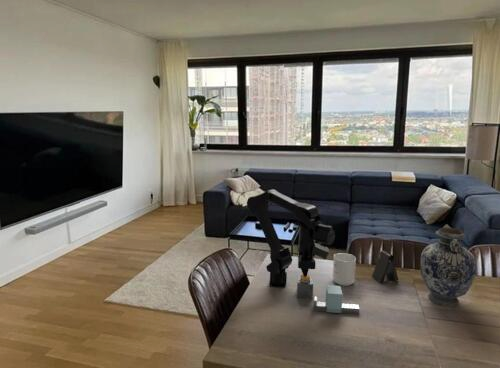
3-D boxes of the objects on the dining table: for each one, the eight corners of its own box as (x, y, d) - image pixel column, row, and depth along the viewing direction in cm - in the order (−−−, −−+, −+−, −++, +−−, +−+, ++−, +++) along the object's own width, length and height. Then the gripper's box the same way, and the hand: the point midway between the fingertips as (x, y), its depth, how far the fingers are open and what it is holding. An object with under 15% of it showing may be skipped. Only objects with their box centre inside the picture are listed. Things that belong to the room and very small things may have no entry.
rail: (313, 310, 128) (314, 300, 128) (313, 306, 131) (313, 296, 131) (359, 314, 127) (359, 303, 126) (357, 309, 130) (358, 299, 129)
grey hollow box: (296, 297, 137) (297, 283, 136) (296, 290, 143) (297, 276, 142) (312, 298, 137) (313, 284, 136) (311, 291, 143) (312, 277, 141)
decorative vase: (478, 318, 124) (488, 242, 119) (420, 309, 130) (427, 236, 125) (464, 290, 144) (472, 224, 139) (414, 284, 150) (419, 220, 145)
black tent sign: (379, 283, 150) (382, 256, 148) (371, 276, 156) (373, 251, 153) (398, 280, 152) (401, 254, 150) (389, 274, 158) (392, 249, 155)
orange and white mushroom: (300, 294, 138) (300, 277, 137) (299, 290, 142) (300, 273, 140) (309, 295, 138) (310, 278, 137) (309, 290, 141) (309, 274, 140)
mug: (358, 284, 148) (360, 259, 146) (340, 288, 145) (341, 262, 143) (342, 272, 159) (343, 249, 157) (324, 275, 156) (326, 251, 154)
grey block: (326, 312, 126) (328, 293, 125) (325, 303, 132) (326, 285, 131) (341, 313, 126) (342, 294, 124) (339, 304, 132) (340, 286, 130)
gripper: (330, 248, 125) (328, 289, 129) (326, 231, 144) (324, 267, 147) (299, 246, 127) (297, 287, 130) (298, 229, 145) (297, 265, 148)
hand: (305, 276), depth 139 cm, fingers closed, pressing on orange and white mushroom
